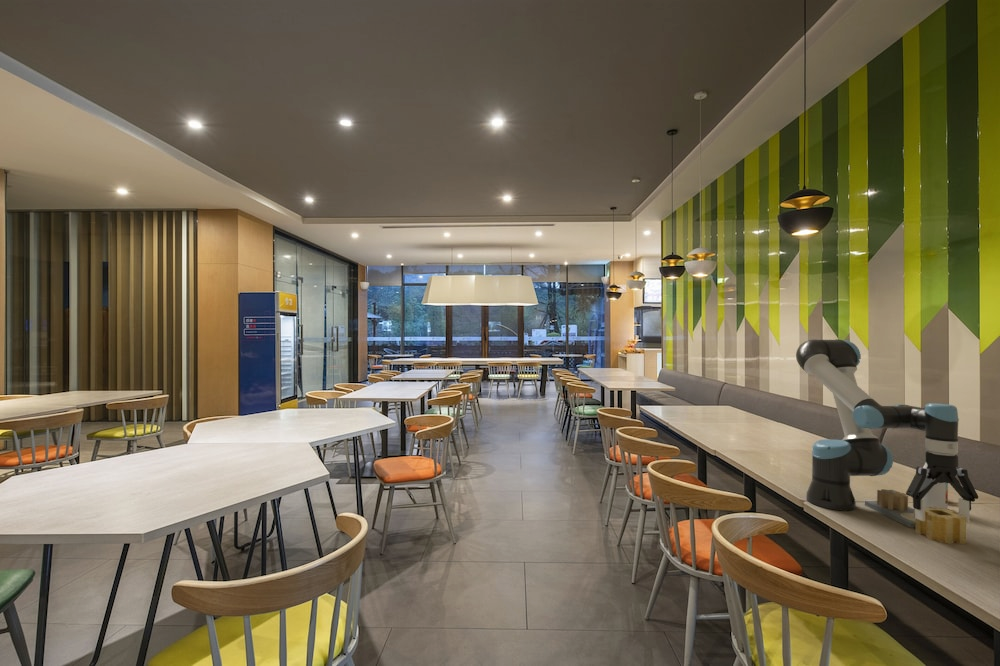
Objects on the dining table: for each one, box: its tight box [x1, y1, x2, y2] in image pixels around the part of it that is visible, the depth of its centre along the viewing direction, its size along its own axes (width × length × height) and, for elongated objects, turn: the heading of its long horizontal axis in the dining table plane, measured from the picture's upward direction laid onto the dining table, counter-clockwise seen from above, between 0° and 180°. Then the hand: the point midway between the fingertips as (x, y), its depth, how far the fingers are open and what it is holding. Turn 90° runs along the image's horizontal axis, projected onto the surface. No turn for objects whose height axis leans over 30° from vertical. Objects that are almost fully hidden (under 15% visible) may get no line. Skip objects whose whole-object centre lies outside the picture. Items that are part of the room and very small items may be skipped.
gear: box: [915, 507, 967, 545], centre depth 146 cm, size 10×10×8 cm
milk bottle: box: [922, 453, 949, 510], centre depth 170 cm, size 8×8×20 cm
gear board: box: [864, 488, 916, 529], centre depth 161 cm, size 12×20×7 cm, turn 178°
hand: (941, 520), depth 145 cm, fingers open, 13 cm apart
